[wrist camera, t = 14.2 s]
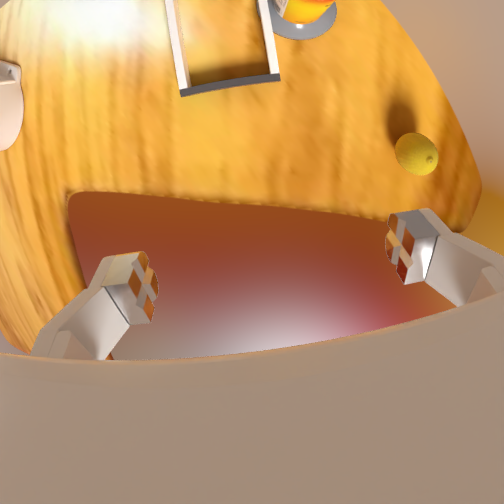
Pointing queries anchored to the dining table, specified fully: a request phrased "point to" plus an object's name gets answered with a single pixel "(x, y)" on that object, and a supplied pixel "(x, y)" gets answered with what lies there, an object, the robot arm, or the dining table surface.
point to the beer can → (301, 10)
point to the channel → (188, 90)
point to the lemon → (416, 153)
